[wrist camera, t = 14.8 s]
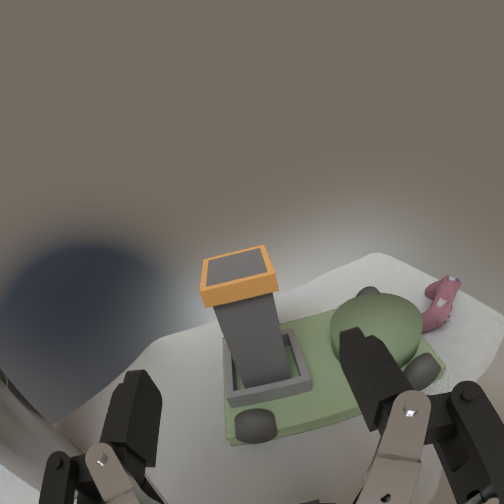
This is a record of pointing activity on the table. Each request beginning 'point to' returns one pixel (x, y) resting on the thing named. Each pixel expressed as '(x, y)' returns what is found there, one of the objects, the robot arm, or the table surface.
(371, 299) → the toy lawn mower
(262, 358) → the orange-capped grey post
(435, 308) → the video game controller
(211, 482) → the table surface
